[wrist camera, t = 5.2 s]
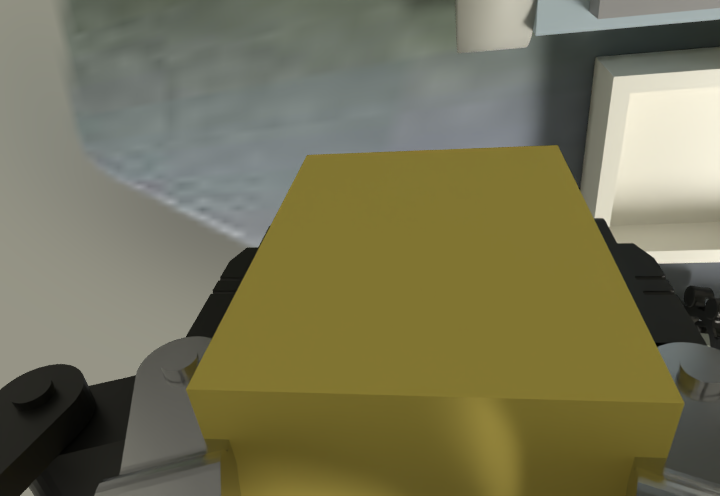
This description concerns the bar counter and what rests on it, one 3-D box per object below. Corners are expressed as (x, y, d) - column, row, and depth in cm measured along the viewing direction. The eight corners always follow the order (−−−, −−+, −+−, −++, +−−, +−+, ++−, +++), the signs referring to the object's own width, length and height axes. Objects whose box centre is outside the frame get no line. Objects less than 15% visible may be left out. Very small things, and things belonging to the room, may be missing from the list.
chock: (307, 154, 11) (186, 389, 6) (557, 145, 11) (686, 403, 5) (339, 365, 14) (279, 645, 9) (533, 370, 14) (597, 677, 8)
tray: (595, 57, 24) (613, 76, 21) (828, 37, 22) (876, 56, 20) (575, 232, 29) (588, 265, 26) (764, 226, 27) (797, 260, 25)
